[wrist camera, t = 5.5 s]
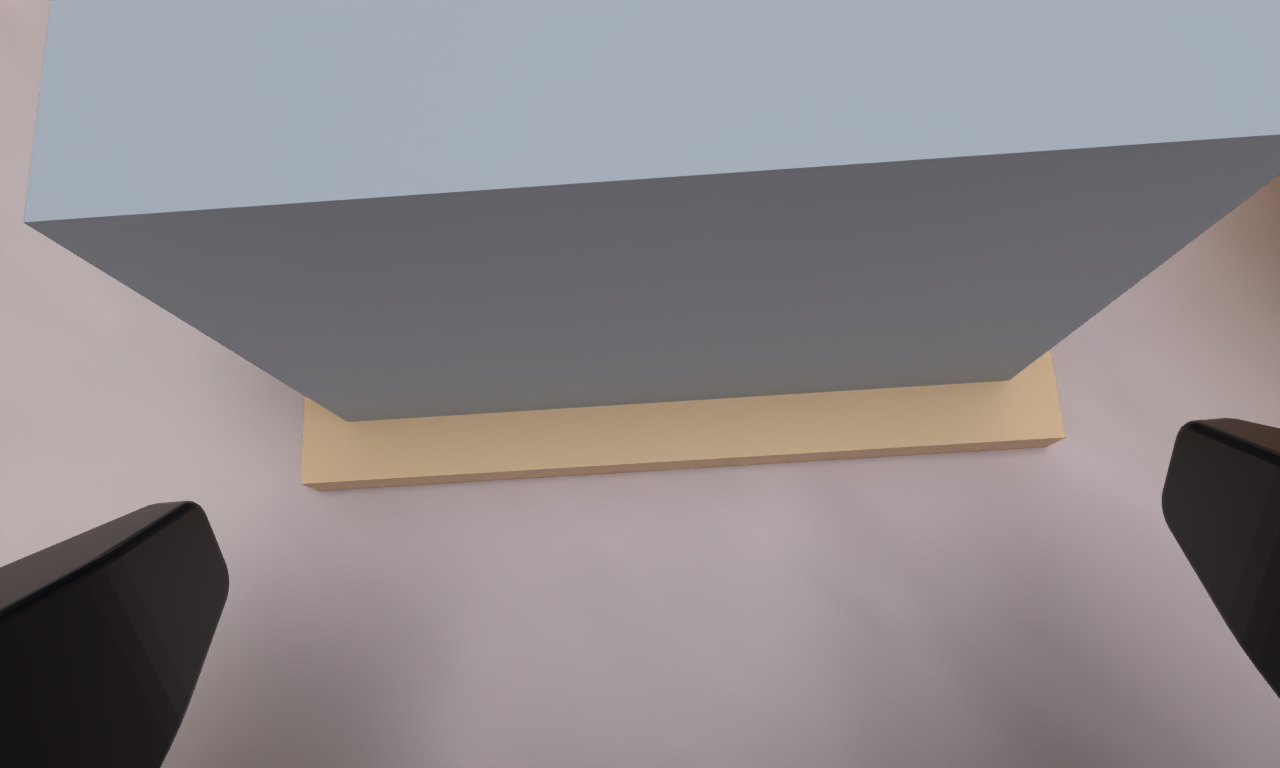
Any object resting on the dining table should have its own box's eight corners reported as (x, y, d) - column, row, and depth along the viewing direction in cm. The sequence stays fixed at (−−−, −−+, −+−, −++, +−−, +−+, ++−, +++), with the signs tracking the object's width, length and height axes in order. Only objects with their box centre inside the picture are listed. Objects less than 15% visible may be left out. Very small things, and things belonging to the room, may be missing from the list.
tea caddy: (1042, 449, 16) (1464, 237, 7) (323, 492, 16) (-80, 339, 8) (946, -129, 19) (1166, -759, 10) (342, -82, 20) (68, -653, 11)
